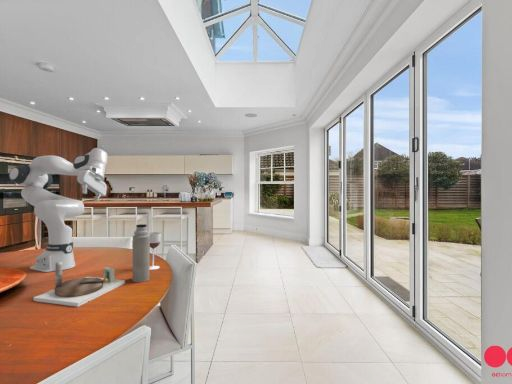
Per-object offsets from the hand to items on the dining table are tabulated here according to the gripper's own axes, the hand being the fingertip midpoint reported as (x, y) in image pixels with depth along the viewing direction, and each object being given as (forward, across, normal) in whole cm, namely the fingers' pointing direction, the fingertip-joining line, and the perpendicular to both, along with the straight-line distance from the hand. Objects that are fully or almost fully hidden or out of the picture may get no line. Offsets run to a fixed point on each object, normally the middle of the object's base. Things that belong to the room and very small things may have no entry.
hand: (90, 197), depth 148 cm
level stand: (+49, +3, +9) cm, 50 cm away
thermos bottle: (+43, -14, +27) cm, 52 cm away
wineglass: (+34, -32, +24) cm, 52 cm away
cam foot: (+48, +6, +9) cm, 49 cm away
